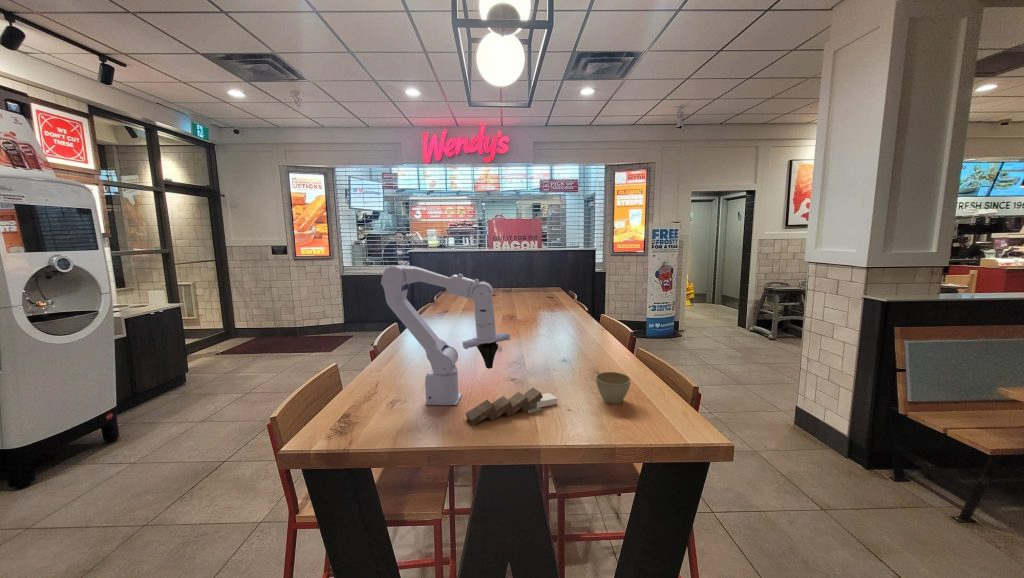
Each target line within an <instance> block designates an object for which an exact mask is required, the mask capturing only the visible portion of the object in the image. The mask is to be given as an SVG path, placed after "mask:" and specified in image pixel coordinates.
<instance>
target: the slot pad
mask: <svg viewBox="0 0 1024 578" xmlns="http://www.w3.org/2000/svg"><path fill="white" fill-rule="evenodd" d="M541 410H542V407H540V408H536V407H535V406H532V407H531V408H529V409H528V410H527V411H526V412H527V413H529V414H532V413H535V412H539V411H541Z"/></svg>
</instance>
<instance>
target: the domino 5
mask: <svg viewBox="0 0 1024 578" xmlns="http://www.w3.org/2000/svg"><path fill="white" fill-rule="evenodd" d="M541 394H542V396H543V398H542V399H540V400H539V401H538V402H537V403H536V404H534V405H533V406H535V407H536V408H543V407H549V406H554V405H555V406H556V405H558V397H556V396H555V395H554V394H551V393H550V392H547V393H541Z"/></svg>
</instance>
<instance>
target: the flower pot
mask: <svg viewBox="0 0 1024 578" xmlns="http://www.w3.org/2000/svg"><path fill="white" fill-rule="evenodd" d="M595 381H596V385H597V390H598V391H599V394H600V395H601V398H602V399H603V401H604V402H605V403H606V404H611V405H618V404H620V403H622V402H623V400H624V399H625V398H626V396H627V394H628V391H629V389H630V385H631V382H632V379H631V377H630V376H628V374H627V375H626V374H624V373H622V372H615V371H605V372H599V373H597V375H595Z"/></svg>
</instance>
